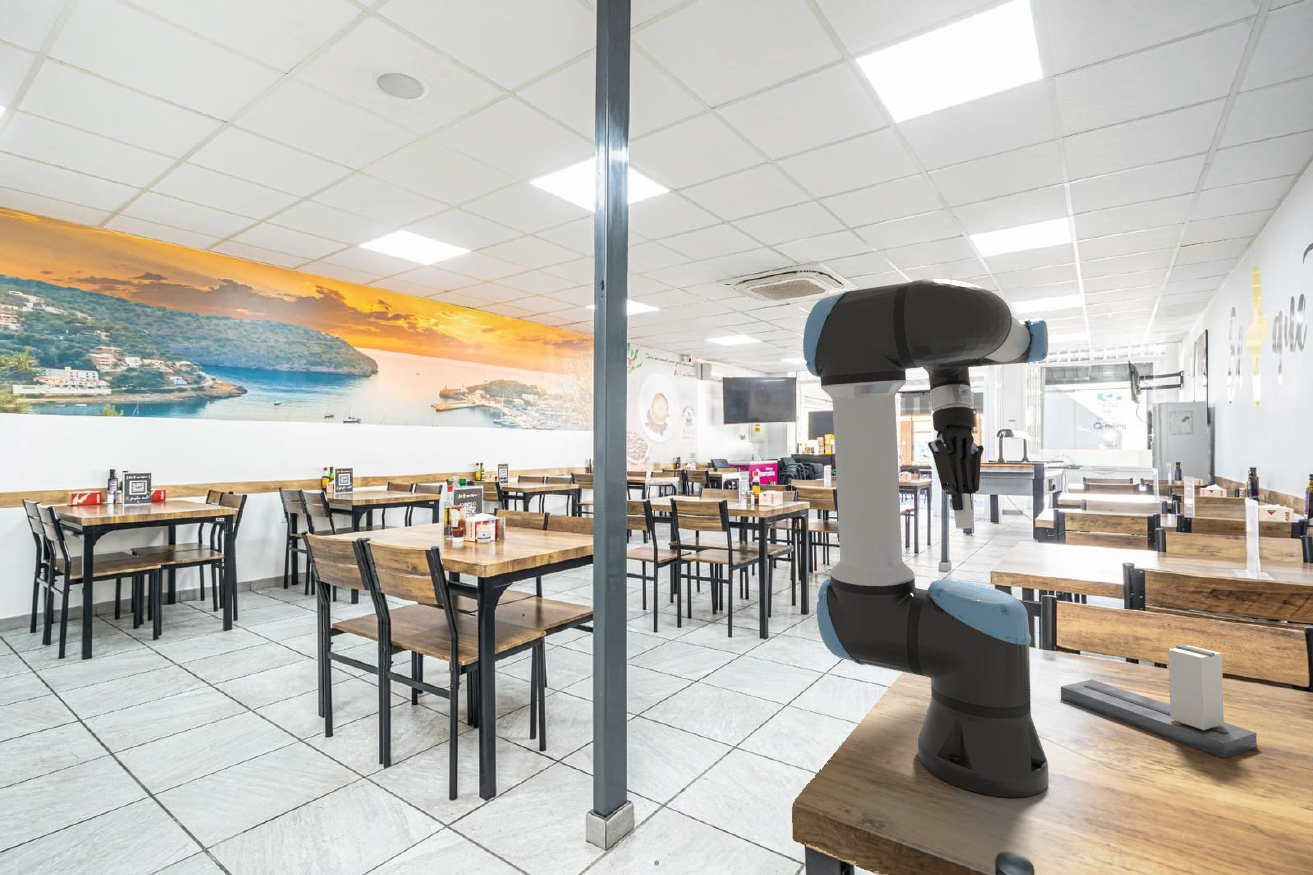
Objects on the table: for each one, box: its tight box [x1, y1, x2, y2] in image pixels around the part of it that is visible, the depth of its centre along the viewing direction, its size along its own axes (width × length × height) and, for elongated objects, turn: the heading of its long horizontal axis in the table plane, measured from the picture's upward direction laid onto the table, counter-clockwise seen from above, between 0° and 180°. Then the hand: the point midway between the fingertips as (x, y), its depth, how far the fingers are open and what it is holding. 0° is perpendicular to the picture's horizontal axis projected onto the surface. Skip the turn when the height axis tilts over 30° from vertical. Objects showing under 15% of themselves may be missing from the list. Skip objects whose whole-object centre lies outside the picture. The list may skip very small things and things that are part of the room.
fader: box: [1168, 644, 1225, 730], centre depth 89 cm, size 4×5×10 cm
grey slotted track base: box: [1060, 679, 1258, 759], centre depth 94 cm, size 22×8×2 cm, turn 23°
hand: (964, 527), depth 118 cm, fingers closed
